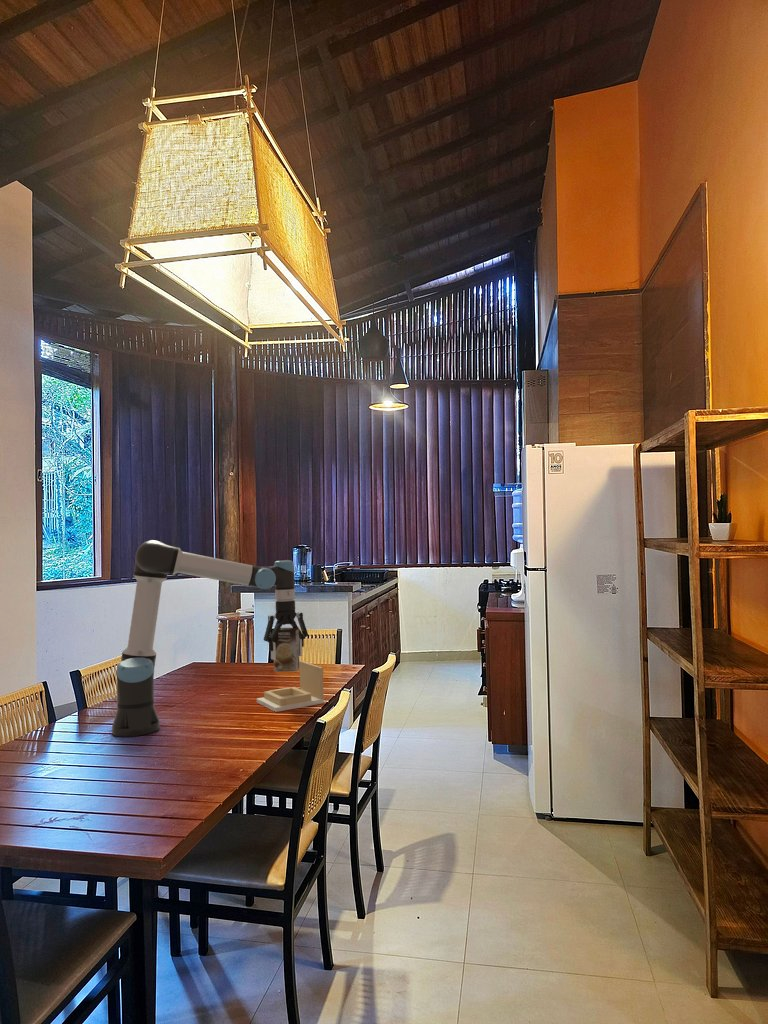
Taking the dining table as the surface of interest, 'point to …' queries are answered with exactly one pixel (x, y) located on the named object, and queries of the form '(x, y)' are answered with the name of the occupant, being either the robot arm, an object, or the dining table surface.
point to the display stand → (297, 691)
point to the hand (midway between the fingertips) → (286, 657)
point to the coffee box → (287, 650)
